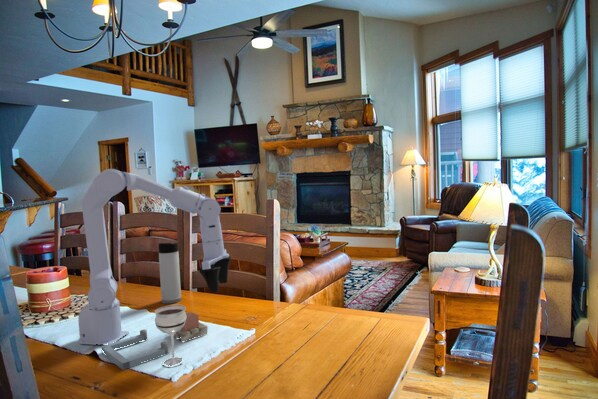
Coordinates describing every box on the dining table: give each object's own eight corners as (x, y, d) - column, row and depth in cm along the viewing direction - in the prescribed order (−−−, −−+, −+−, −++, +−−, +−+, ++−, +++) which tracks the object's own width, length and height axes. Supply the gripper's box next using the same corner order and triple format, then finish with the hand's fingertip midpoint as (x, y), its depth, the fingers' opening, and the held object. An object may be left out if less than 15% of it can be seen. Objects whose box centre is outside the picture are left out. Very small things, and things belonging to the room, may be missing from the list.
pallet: (183, 343, 101) (182, 334, 101) (170, 336, 106) (169, 327, 106) (207, 334, 106) (207, 325, 106) (194, 328, 111) (193, 319, 111)
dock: (123, 370, 88) (122, 359, 88) (101, 352, 97) (100, 342, 97) (169, 353, 95) (169, 343, 95) (145, 338, 105) (145, 329, 104)
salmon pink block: (185, 330, 103) (184, 319, 103) (177, 327, 106) (176, 315, 106) (198, 326, 106) (198, 315, 106) (191, 322, 109) (190, 311, 108)
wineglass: (177, 352, 95) (174, 303, 95) (195, 360, 91) (192, 308, 90) (151, 364, 90) (148, 311, 89) (168, 372, 86) (165, 317, 85)
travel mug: (157, 303, 133) (153, 243, 132) (169, 297, 139) (165, 239, 138) (173, 304, 131) (169, 243, 130) (184, 298, 137) (181, 240, 136)
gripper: (217, 244, 106) (224, 295, 107) (233, 233, 120) (239, 278, 122) (191, 247, 107) (198, 296, 108) (211, 235, 121) (217, 279, 123)
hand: (218, 287), depth 115 cm, fingers open, 7 cm apart
